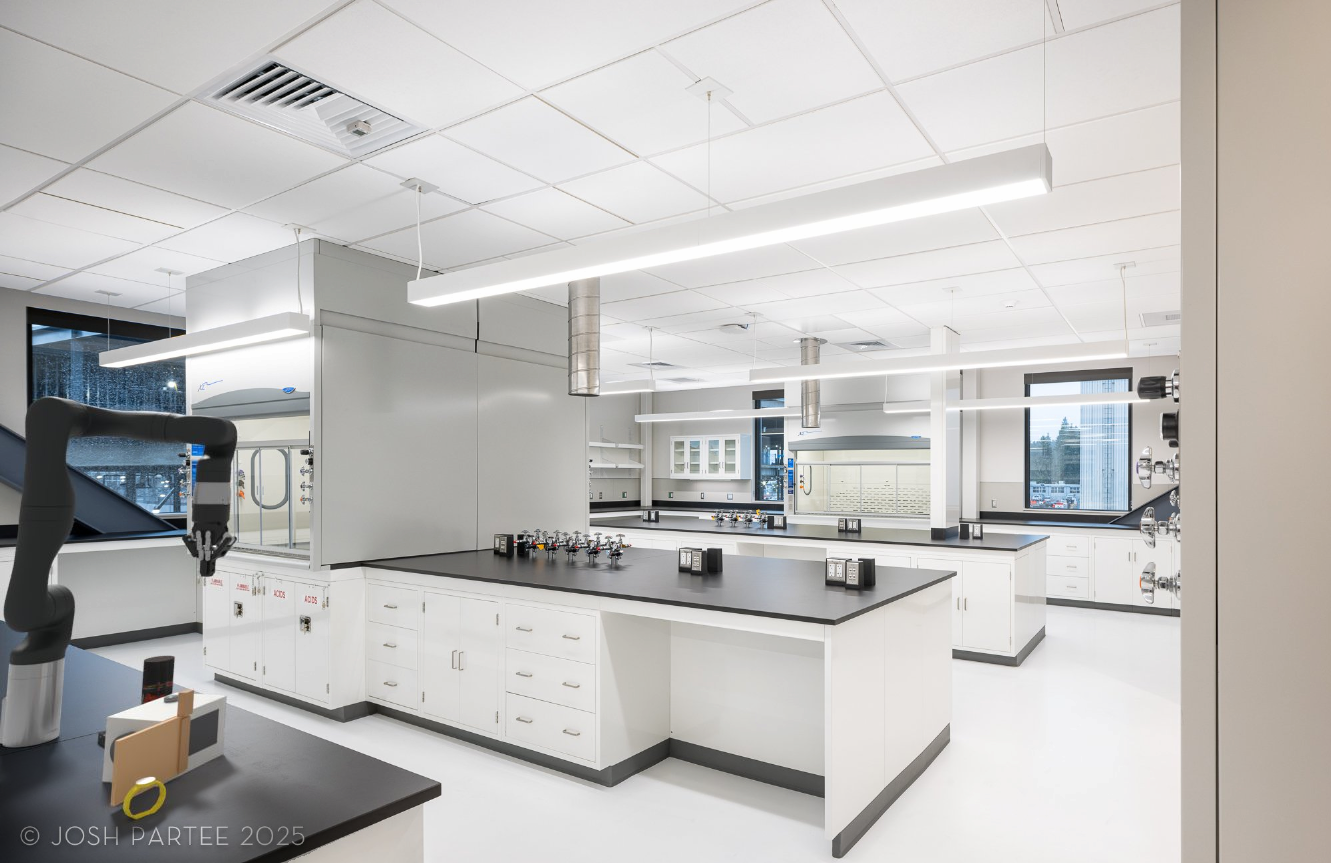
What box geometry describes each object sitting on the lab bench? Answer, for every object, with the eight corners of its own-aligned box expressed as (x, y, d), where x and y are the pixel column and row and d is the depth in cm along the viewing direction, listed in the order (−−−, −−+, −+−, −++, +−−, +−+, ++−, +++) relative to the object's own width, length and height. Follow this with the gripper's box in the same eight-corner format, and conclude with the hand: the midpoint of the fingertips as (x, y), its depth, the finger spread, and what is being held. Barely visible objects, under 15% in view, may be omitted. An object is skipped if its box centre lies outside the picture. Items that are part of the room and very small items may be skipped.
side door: (110, 805, 122) (116, 714, 123) (181, 770, 137) (186, 689, 138) (118, 806, 122) (124, 714, 123) (189, 771, 136) (194, 689, 137)
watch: (129, 825, 118) (128, 790, 118) (120, 821, 119) (120, 786, 119) (168, 808, 123) (167, 774, 123) (160, 805, 124) (159, 771, 124)
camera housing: (94, 785, 132) (99, 715, 133) (172, 749, 149) (176, 688, 150) (150, 790, 130) (155, 719, 131) (223, 754, 147) (227, 691, 148)
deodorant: (133, 725, 163) (138, 660, 164) (160, 718, 168) (164, 654, 169) (150, 729, 161) (154, 663, 162) (176, 721, 166) (180, 657, 167)
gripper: (173, 501, 162) (168, 577, 160) (224, 502, 160) (220, 579, 158) (199, 500, 169) (194, 573, 168) (248, 502, 167) (244, 575, 166)
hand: (207, 576), depth 163 cm, fingers closed
